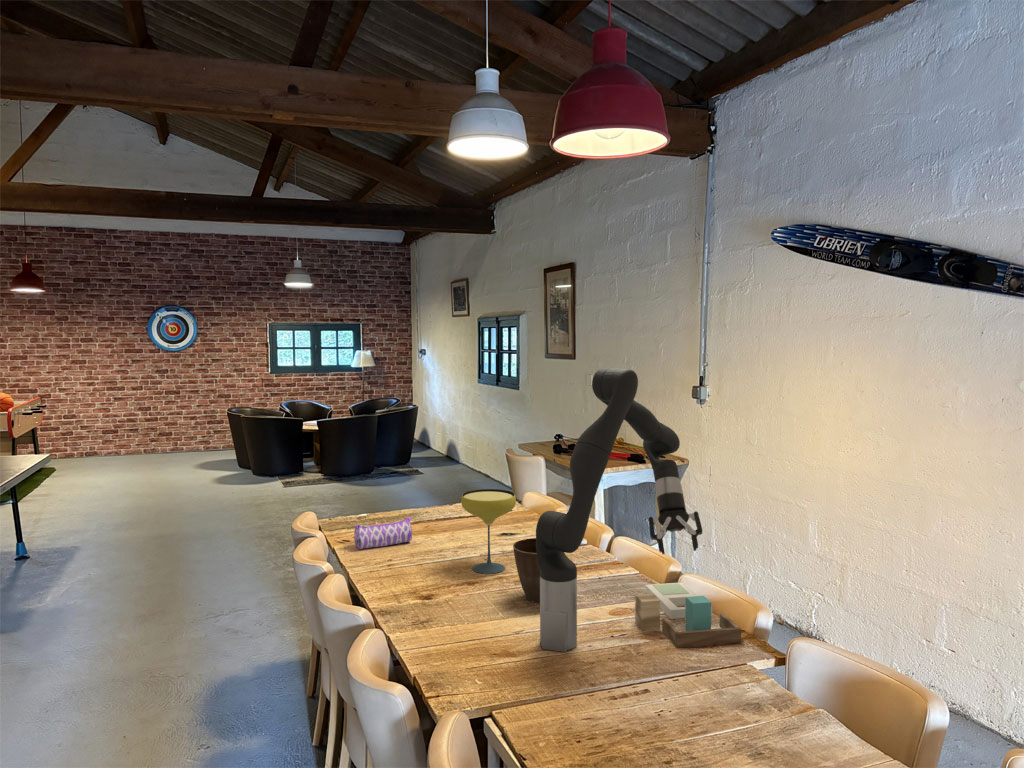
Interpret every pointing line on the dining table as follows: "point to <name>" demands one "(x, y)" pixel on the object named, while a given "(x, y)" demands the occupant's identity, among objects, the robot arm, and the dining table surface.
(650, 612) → the beech block
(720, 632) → the walnut tray
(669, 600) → the cream hole board
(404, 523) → the pencil case
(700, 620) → the teal block
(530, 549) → the plant pot
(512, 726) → the dining table surface
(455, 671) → the dining table surface
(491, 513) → the cocktail glass
